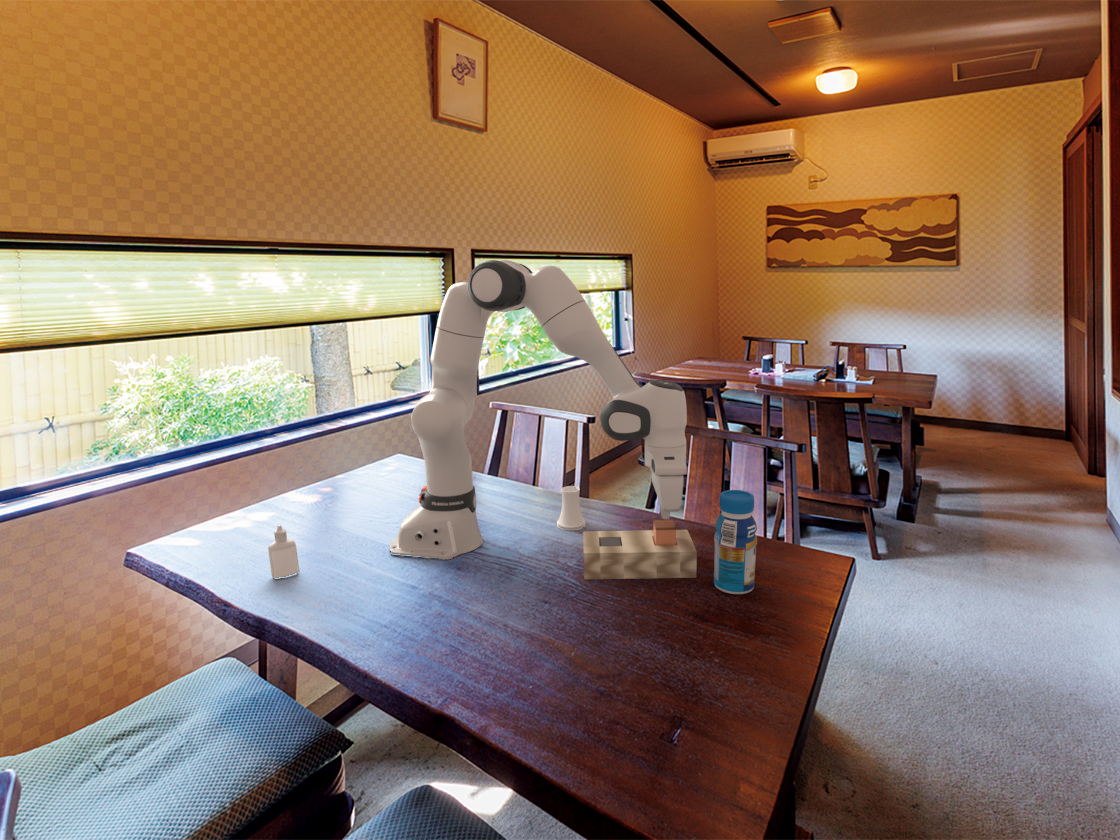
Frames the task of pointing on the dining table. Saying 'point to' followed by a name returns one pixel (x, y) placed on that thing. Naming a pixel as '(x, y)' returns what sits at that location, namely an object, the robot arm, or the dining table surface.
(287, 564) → the eye dropper bottle
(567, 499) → the vase
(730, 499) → the beverage bottle
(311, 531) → the dining table surface
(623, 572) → the maple housing
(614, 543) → the charcoal plug
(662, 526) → the terracotta plug
